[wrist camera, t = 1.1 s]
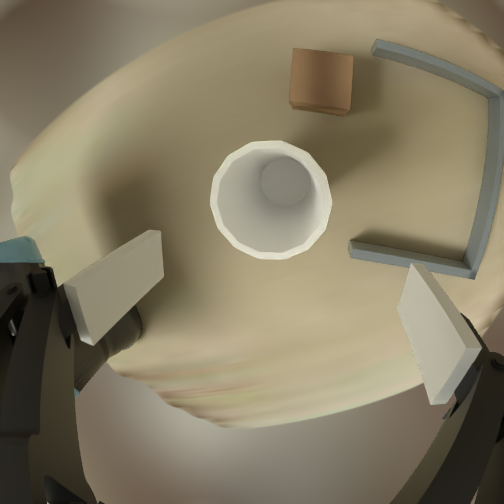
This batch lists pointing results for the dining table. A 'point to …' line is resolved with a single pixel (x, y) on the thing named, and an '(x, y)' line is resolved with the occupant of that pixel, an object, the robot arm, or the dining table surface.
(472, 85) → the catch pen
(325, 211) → the foam cup
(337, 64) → the walnut block
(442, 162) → the dining table surface
